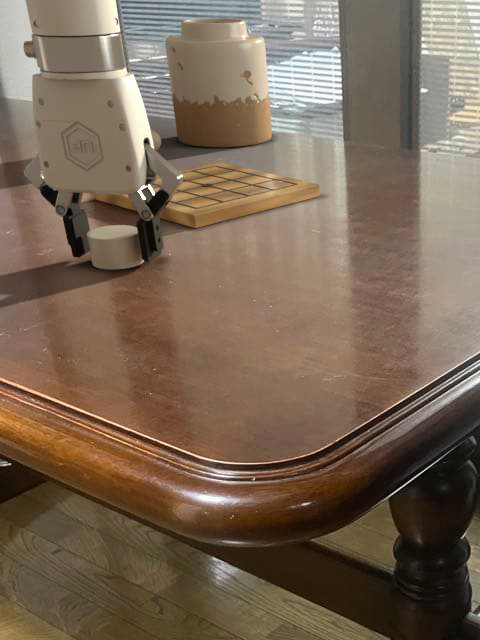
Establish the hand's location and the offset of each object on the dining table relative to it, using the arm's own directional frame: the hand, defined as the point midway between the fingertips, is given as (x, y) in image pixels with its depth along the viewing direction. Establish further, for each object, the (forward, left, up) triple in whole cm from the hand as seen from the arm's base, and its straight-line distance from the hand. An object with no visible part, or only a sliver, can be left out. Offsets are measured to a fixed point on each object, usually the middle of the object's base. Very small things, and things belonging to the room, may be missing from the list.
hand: (117, 254), depth 89 cm
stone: (-43, +30, -1) cm, 52 cm away
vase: (-43, +50, -1) cm, 66 cm away
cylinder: (0, 0, -1) cm, 1 cm away
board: (-14, +23, -1) cm, 27 cm away
